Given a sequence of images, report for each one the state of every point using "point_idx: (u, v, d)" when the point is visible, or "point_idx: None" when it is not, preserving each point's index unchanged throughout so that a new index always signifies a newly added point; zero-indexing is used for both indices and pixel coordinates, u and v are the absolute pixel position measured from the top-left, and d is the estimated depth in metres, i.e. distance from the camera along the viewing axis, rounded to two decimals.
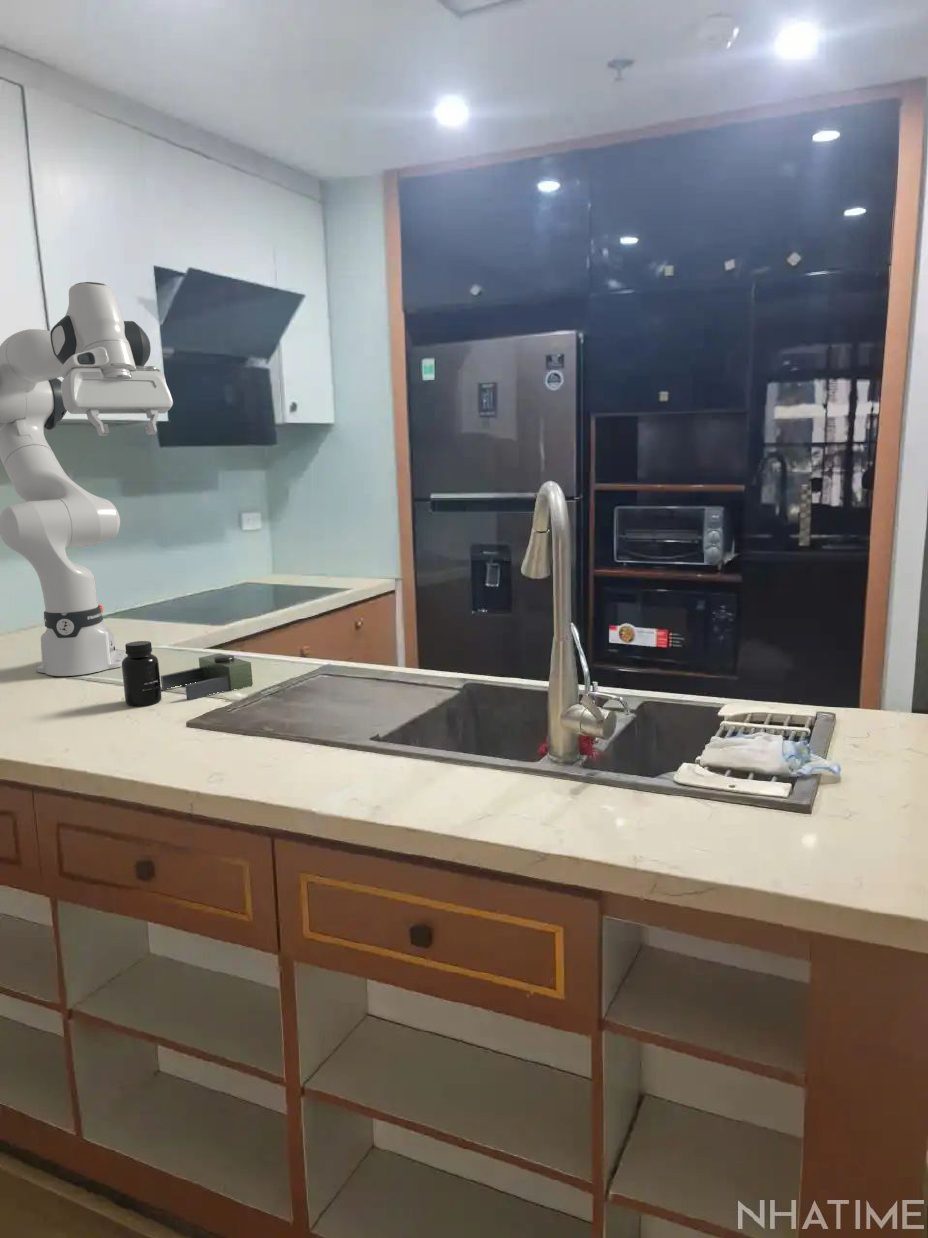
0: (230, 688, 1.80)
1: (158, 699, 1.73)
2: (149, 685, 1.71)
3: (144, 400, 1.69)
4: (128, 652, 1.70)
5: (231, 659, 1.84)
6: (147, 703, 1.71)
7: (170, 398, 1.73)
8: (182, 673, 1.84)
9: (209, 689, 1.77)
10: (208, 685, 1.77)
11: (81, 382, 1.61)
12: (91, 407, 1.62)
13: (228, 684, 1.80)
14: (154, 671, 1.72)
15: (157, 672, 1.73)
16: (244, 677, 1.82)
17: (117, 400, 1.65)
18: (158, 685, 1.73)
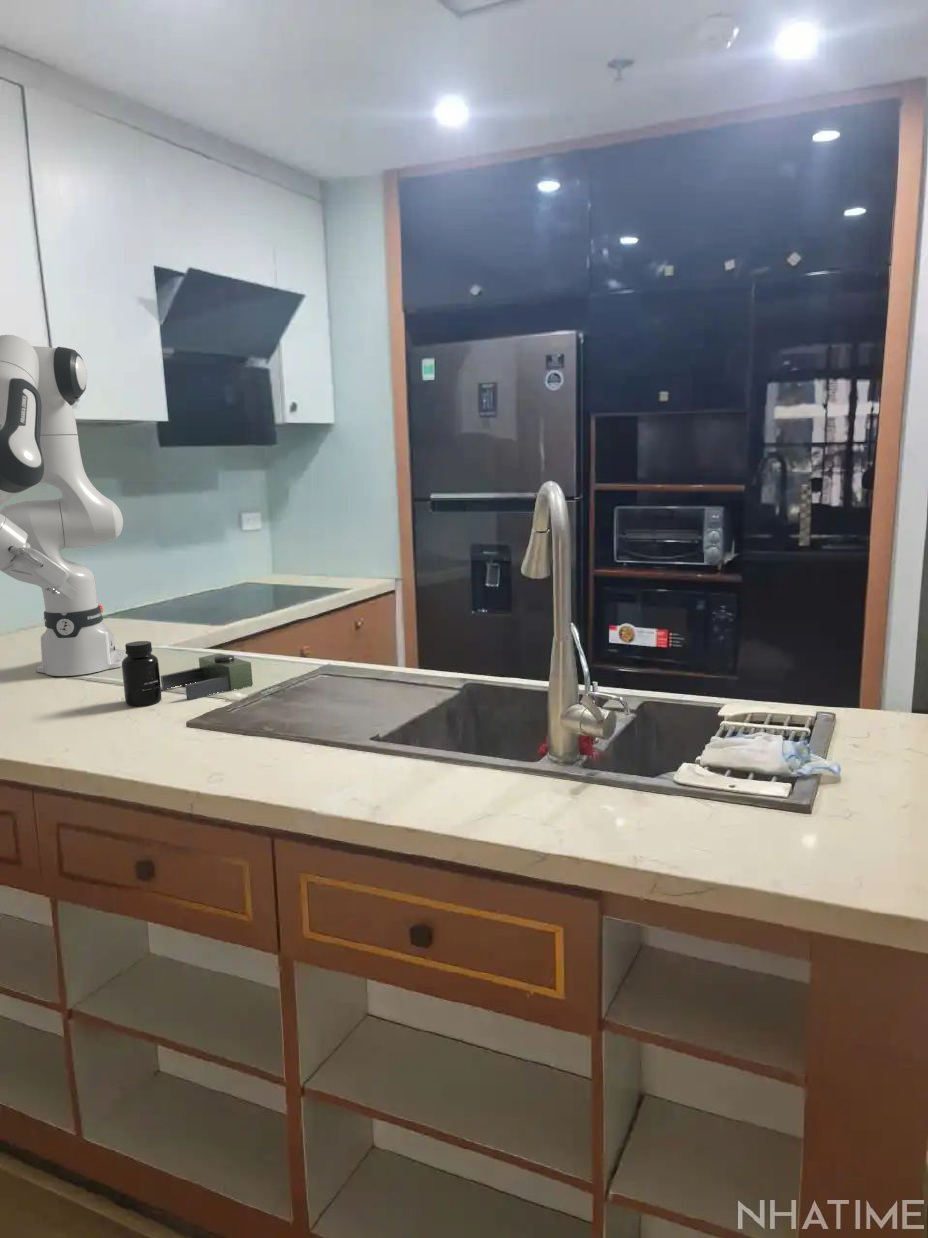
0: (230, 688, 1.80)
1: (158, 699, 1.73)
2: (149, 685, 1.71)
3: (40, 583, 1.54)
4: (128, 652, 1.70)
5: (231, 659, 1.84)
6: (147, 703, 1.71)
7: (49, 584, 1.50)
8: (182, 673, 1.84)
9: (209, 689, 1.77)
10: (208, 685, 1.77)
11: None
12: None
13: (228, 684, 1.80)
14: (154, 671, 1.72)
15: (157, 672, 1.73)
16: (244, 677, 1.82)
17: (29, 581, 1.58)
18: (158, 685, 1.73)
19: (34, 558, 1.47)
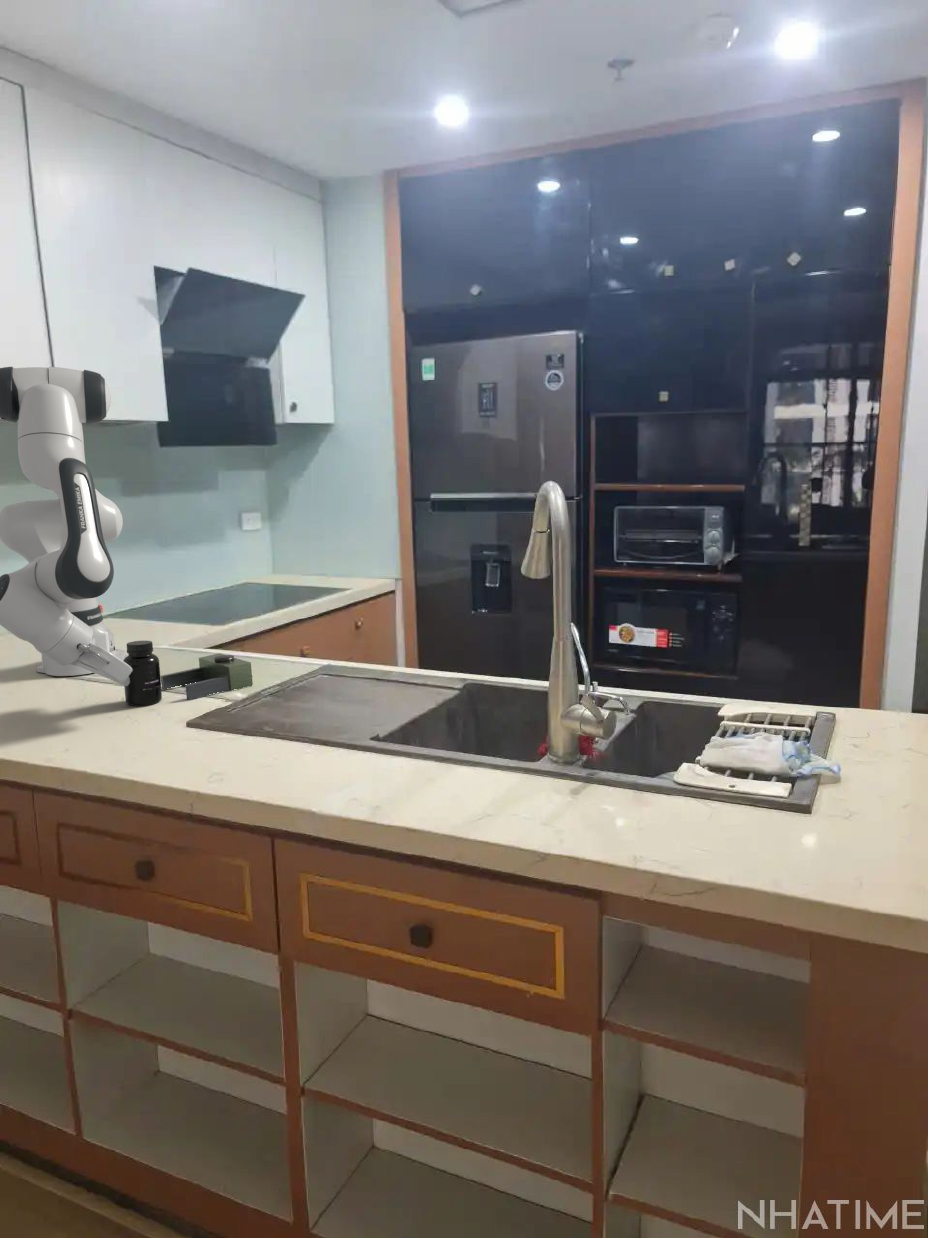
0: (230, 688, 1.80)
1: (158, 699, 1.73)
2: (149, 684, 1.71)
3: (104, 676, 1.64)
4: (129, 651, 1.70)
5: (231, 659, 1.84)
6: (147, 703, 1.71)
7: (114, 680, 1.60)
8: (182, 673, 1.84)
9: (209, 689, 1.77)
10: (208, 685, 1.77)
11: None
12: None
13: (228, 684, 1.80)
14: (155, 670, 1.72)
15: (158, 672, 1.73)
16: (244, 677, 1.82)
17: (93, 671, 1.68)
18: (158, 685, 1.73)
19: (102, 657, 1.57)
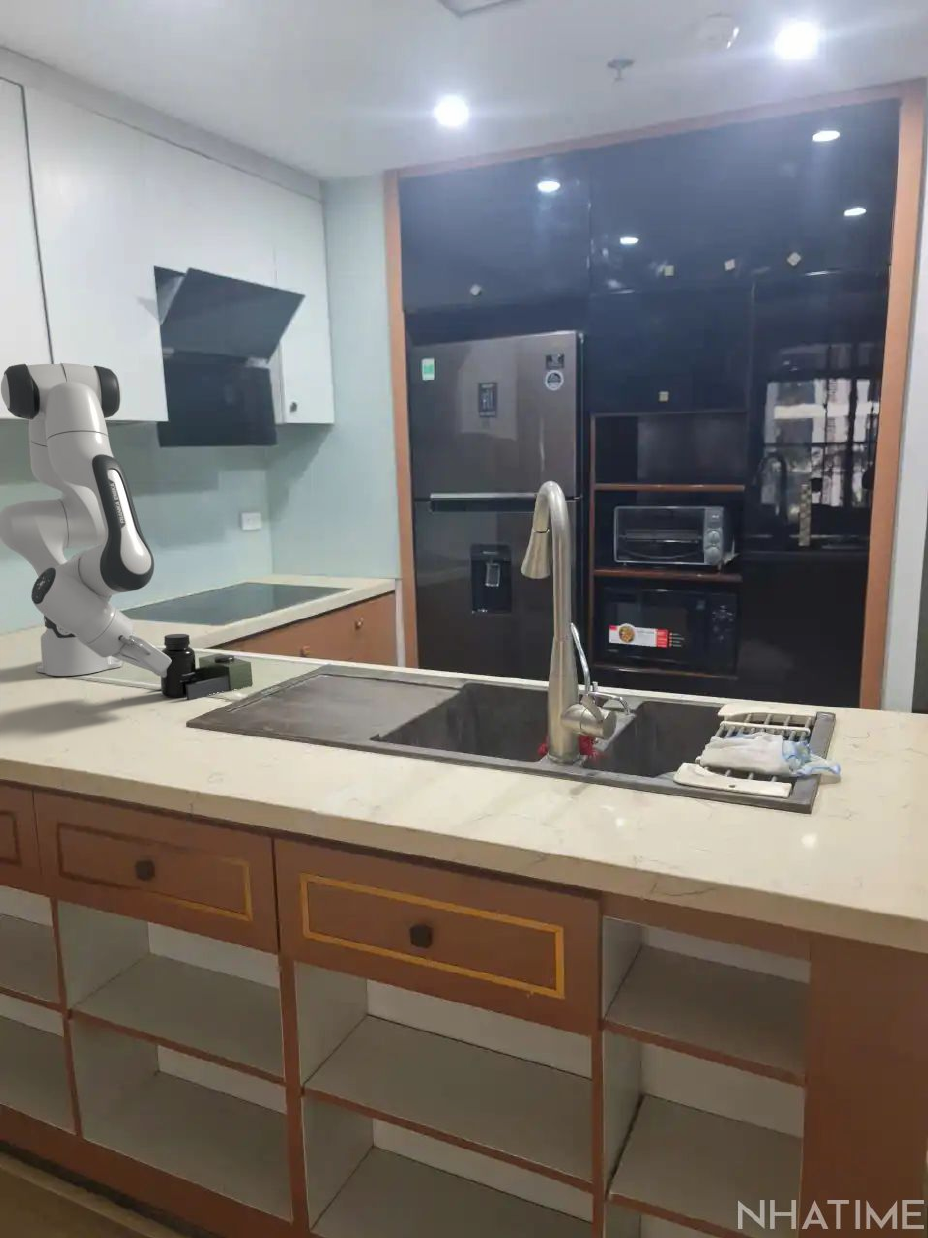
0: (230, 688, 1.80)
1: None
2: (186, 676, 1.76)
3: (144, 667, 1.69)
4: (167, 644, 1.75)
5: (231, 659, 1.84)
6: (184, 694, 1.76)
7: (155, 670, 1.65)
8: None
9: (209, 689, 1.77)
10: (208, 685, 1.77)
11: None
12: None
13: (228, 684, 1.80)
14: (192, 663, 1.77)
15: (194, 664, 1.78)
16: (244, 677, 1.82)
17: (132, 663, 1.73)
18: (194, 677, 1.78)
19: (143, 648, 1.62)
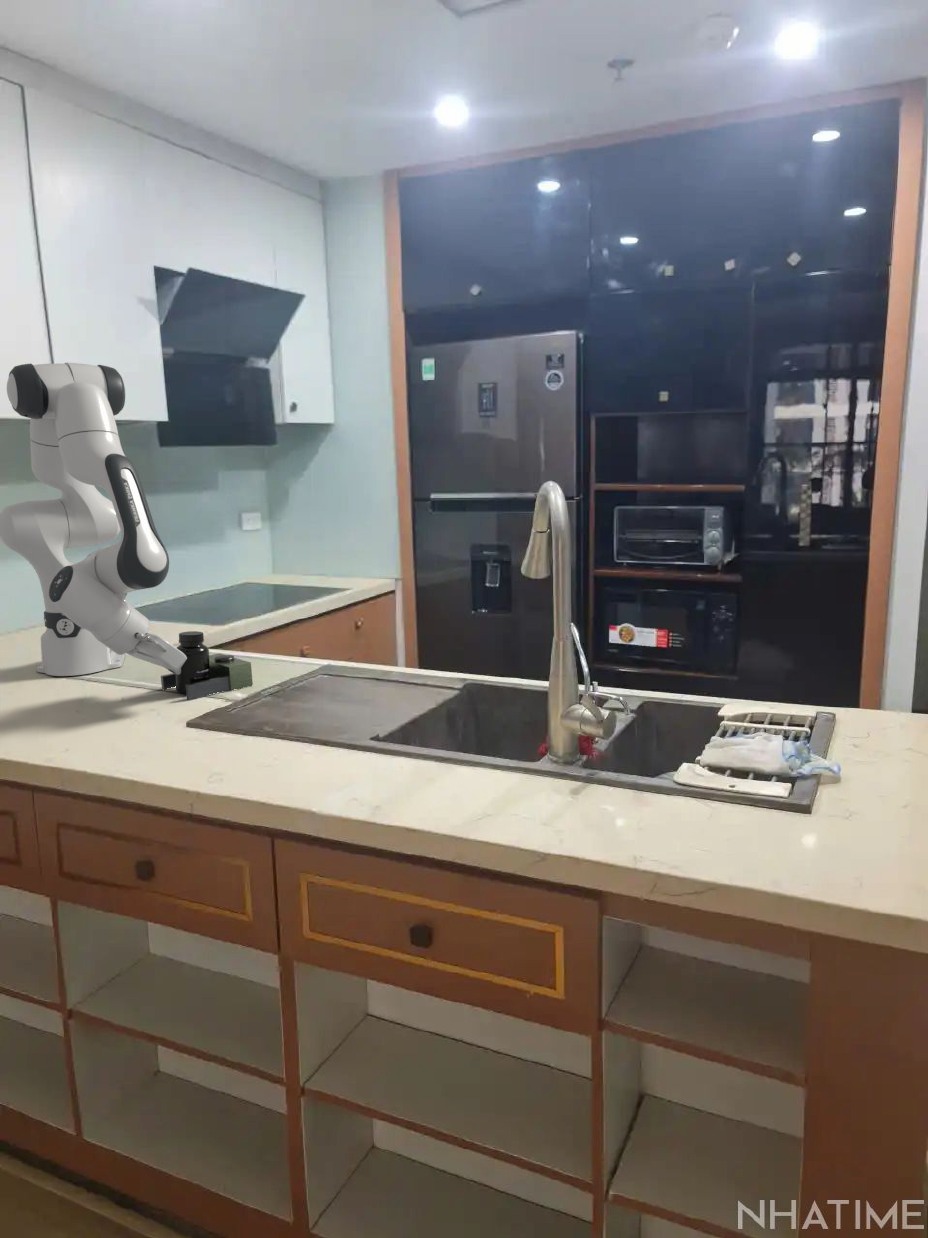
0: (230, 688, 1.80)
1: None
2: (200, 673, 1.78)
3: (159, 664, 1.71)
4: (182, 641, 1.77)
5: (231, 659, 1.84)
6: None
7: (170, 667, 1.67)
8: None
9: (209, 689, 1.77)
10: (208, 685, 1.77)
11: None
12: None
13: (228, 684, 1.80)
14: (206, 660, 1.79)
15: (208, 661, 1.80)
16: (244, 677, 1.82)
17: (147, 660, 1.75)
18: (208, 674, 1.80)
19: (159, 645, 1.64)
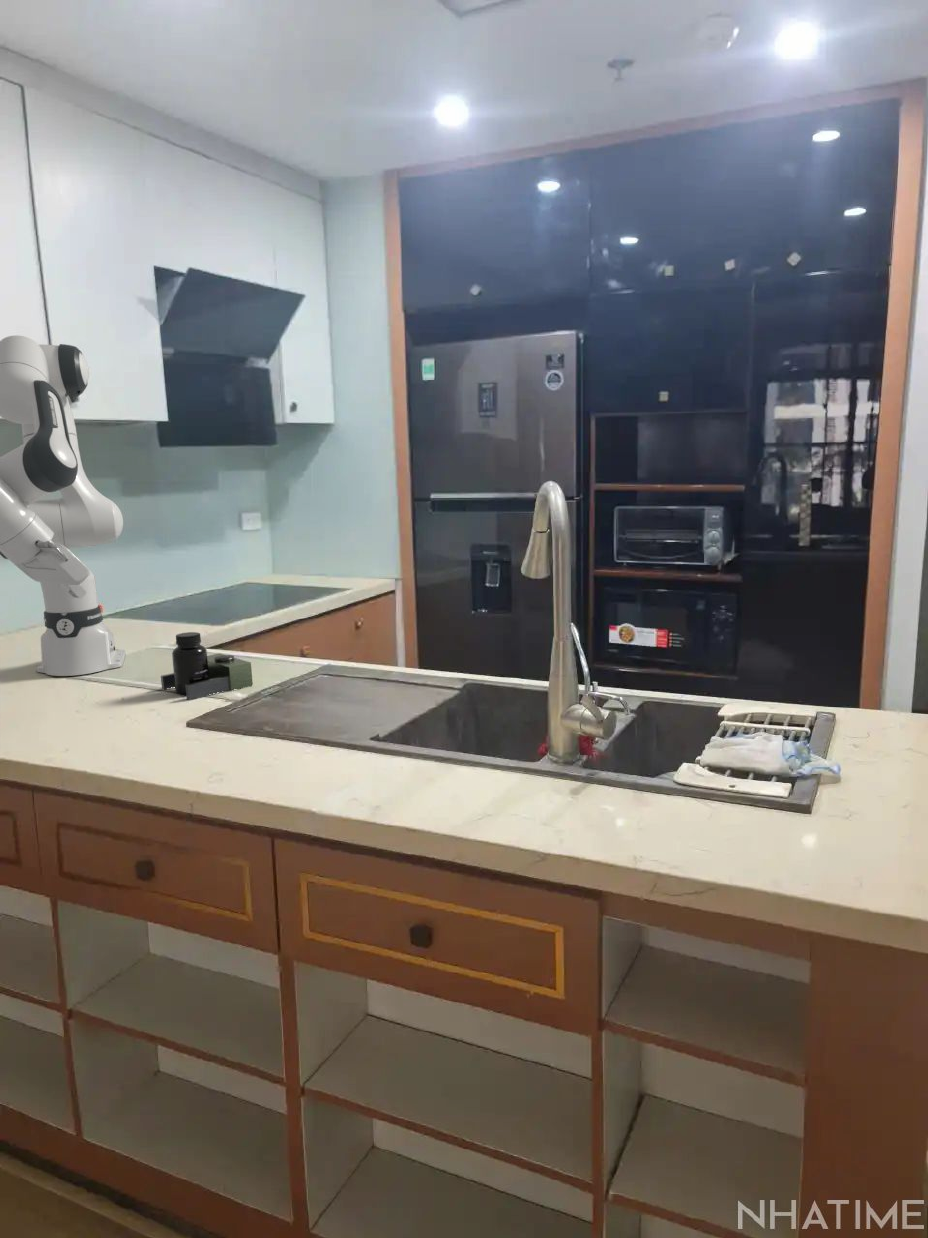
0: (230, 688, 1.80)
1: None
2: (199, 674, 1.78)
3: (59, 580, 1.60)
4: (179, 643, 1.77)
5: (231, 659, 1.84)
6: None
7: (70, 579, 1.56)
8: None
9: (209, 689, 1.77)
10: (208, 685, 1.77)
11: (22, 564, 1.65)
12: None
13: (228, 684, 1.80)
14: (204, 660, 1.79)
15: (206, 662, 1.80)
16: (244, 677, 1.82)
17: (48, 579, 1.63)
18: (207, 674, 1.80)
19: (61, 552, 1.53)
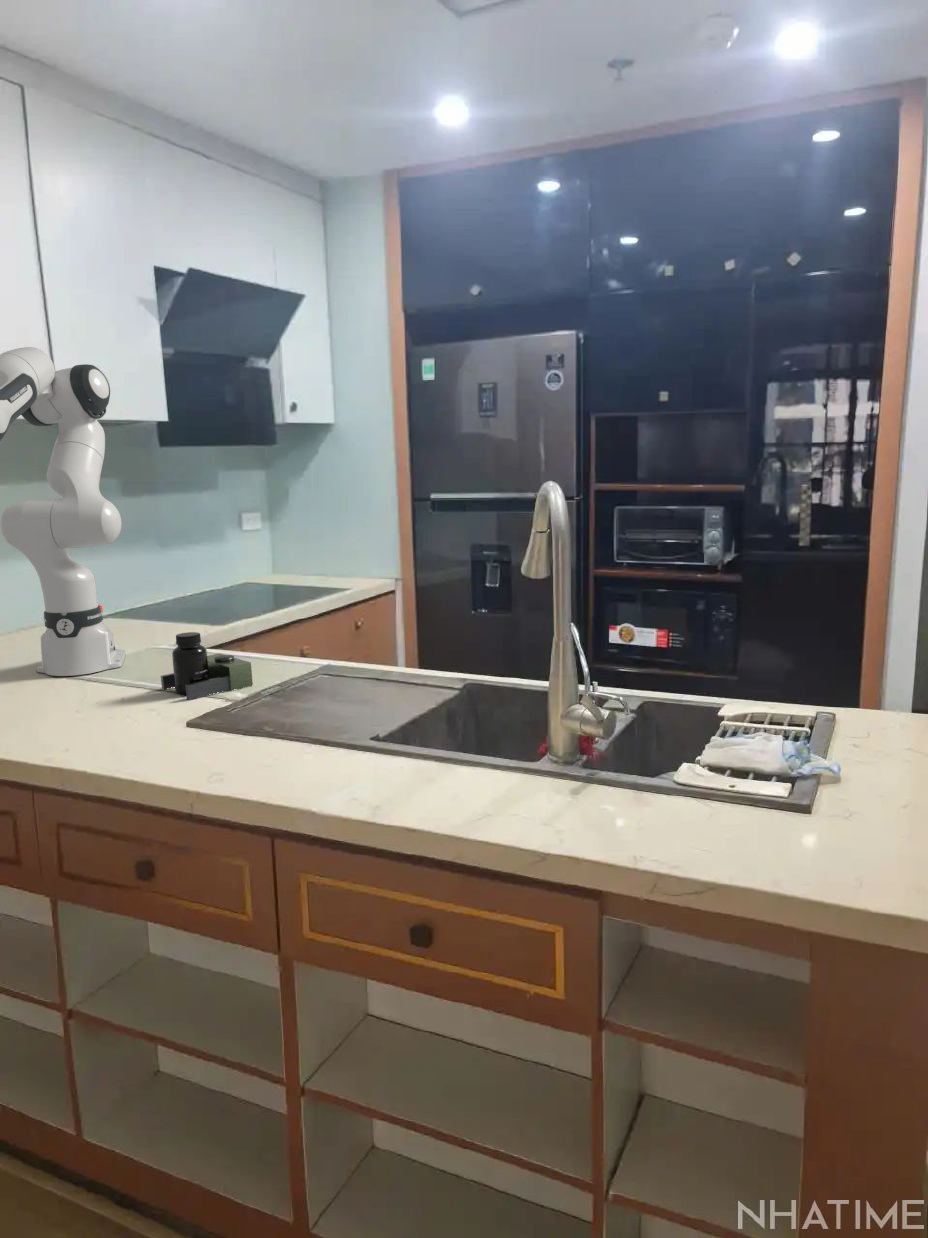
0: (230, 688, 1.80)
1: None
2: (199, 674, 1.78)
3: None
4: (179, 643, 1.77)
5: (231, 659, 1.84)
6: None
7: None
8: None
9: (209, 689, 1.77)
10: (208, 685, 1.77)
11: None
12: None
13: (228, 684, 1.80)
14: (204, 660, 1.79)
15: (206, 662, 1.80)
16: (244, 677, 1.82)
17: None
18: (207, 674, 1.80)
19: None
